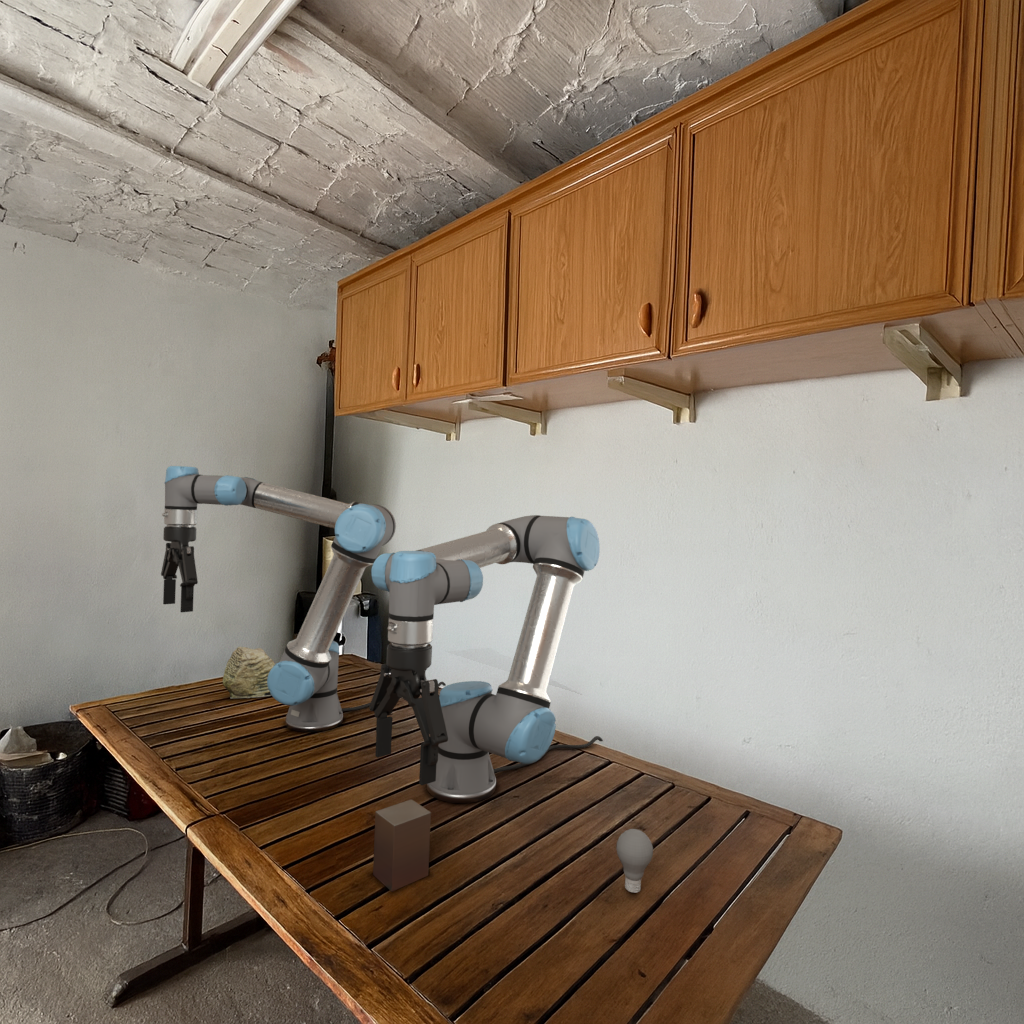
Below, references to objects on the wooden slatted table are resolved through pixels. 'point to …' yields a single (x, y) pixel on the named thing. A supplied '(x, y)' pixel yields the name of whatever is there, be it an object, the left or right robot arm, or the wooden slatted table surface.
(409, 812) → the grey boxy piece
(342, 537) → the left robot arm
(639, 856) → the light bulb
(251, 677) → the fossil
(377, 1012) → the wooden slatted table surface
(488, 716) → the right robot arm
